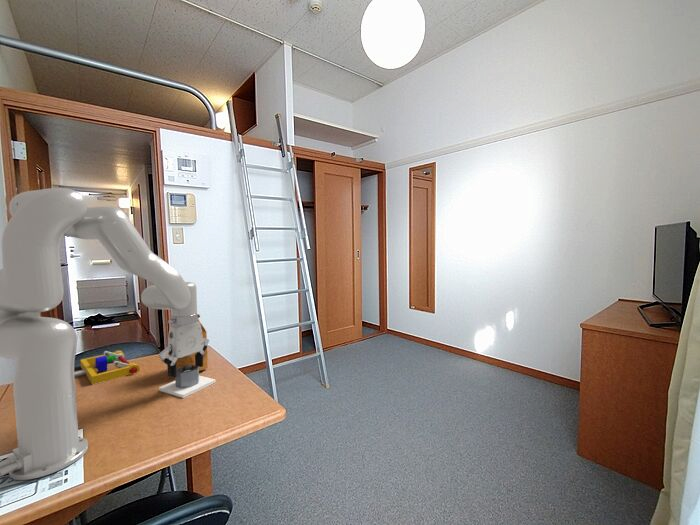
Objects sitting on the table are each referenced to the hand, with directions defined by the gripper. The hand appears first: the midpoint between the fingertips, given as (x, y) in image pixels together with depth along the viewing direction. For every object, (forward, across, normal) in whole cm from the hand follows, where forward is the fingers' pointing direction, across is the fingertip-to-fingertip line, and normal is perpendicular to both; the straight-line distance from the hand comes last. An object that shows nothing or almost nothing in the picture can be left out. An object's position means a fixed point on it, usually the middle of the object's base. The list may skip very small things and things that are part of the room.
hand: (186, 371), depth 104 cm
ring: (+4, 0, 0) cm, 4 cm away
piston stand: (+5, 0, 0) cm, 5 cm away
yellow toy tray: (+6, -4, +43) cm, 44 cm away
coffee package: (+5, +10, +12) cm, 16 cm away
